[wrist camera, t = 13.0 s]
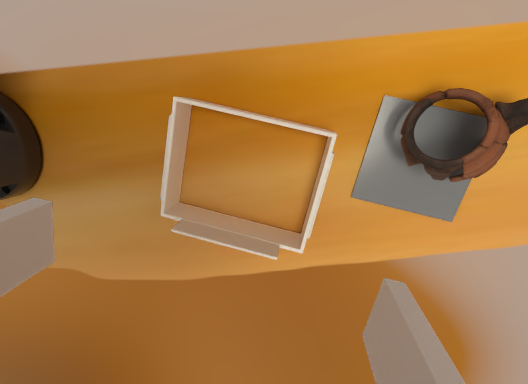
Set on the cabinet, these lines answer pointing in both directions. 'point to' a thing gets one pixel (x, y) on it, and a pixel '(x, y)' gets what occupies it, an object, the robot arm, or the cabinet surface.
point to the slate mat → (415, 177)
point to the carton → (222, 225)
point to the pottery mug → (485, 154)
